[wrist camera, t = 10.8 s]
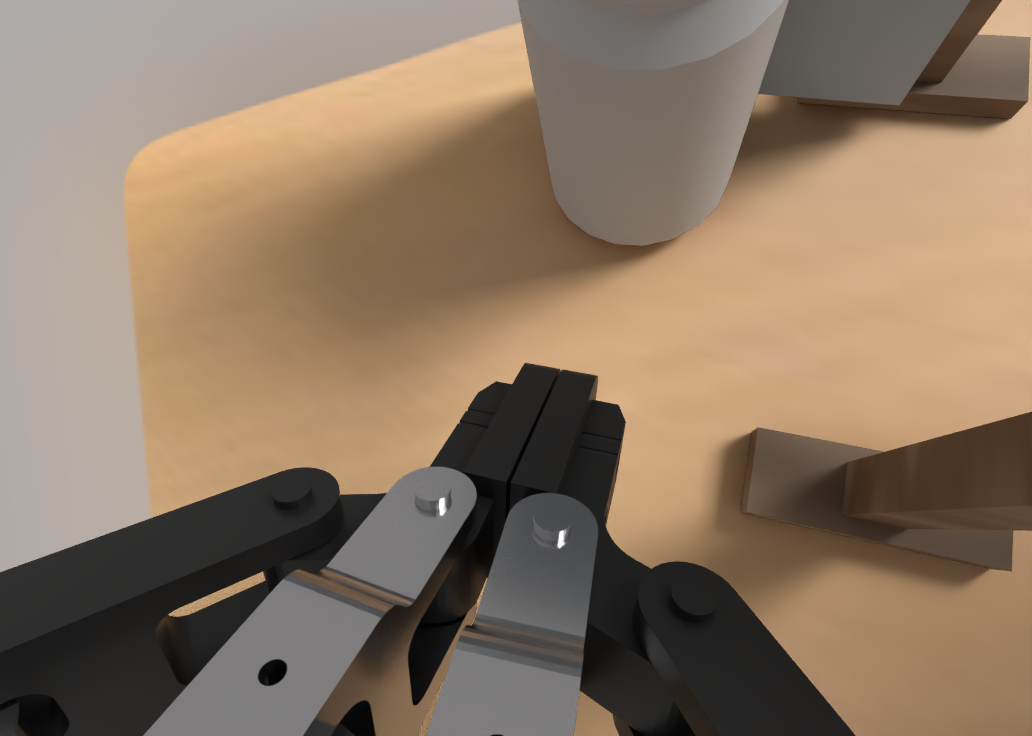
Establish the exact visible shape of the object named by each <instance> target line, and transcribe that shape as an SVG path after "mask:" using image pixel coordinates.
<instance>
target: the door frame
mask: <svg viewBox="0 0 1032 736" xmlns="http://www.w3.org/2000/svg"><path fill="white" fill-rule="evenodd" d="M1001 1H1002V0H970V2H969V3H968V5H967V6H966V8H965V9H964V11H963V12H962V14H961V15H960V17H959V18H958V20H957V21H956V22H955V24H954V25H953V27H952V28H951V30H950V31H949V33H948V34H947V36H946V37H945V39H944V40H943V42H942V43H941V45H940V46H939V48H938V49H937V51H936V52H935V53H934V55H933V56H932V58H931V59H930V61H929V62H928V64H927V65H926V67H925V68H924V70H923V71H922V73H921V74H920V76H919V77H918V79H917V80H916V82H915V83H914V85H913V86H912V87H911V89H910V90H909V92H908V93H907V95H906V96H905V98H904V99H903V101H902V102H901V104H900V105H888V104H876V103H864V102H852V101H840V100H827V99H815V98H803V97H799V100H798V103H809V104H822V105H835V106H848V107H862V108H875V109H888V110H901V111H915V112H928V113H941V114H954V115H968V116H981V117H994V118H1007V119H1011V118H1012V117H1013V116H1014V115H1015V114H1016V113H1017V112H1018V111H1019V110H1020V109H1021V108H1022V107H1023V106H1024V105H1025V104H1026V103H1027V102H1028V87H1029V58H1030V37H1015V36H994V35H977V34H978V32H979V31H980V30H981V28H982V27H983V25H984V24H985V23H986V21H987V20H988V19H989V17H990V16H991V15H992V13H993V12H994V11H995V9H996V8H997V6H998V5H999V4H1000V2H1001ZM740 512H742V513H746V514H750V515H755V516H759V517H764V518H768V519H773V520H777V521H781V522H786V523H790V524H795V525H799V526H804V527H808V528H812V529H817V530H821V531H826V532H830V533H835V534H839V535H843V536H848V537H852V538H857V539H861V540H866V541H870V542H874V543H879V544H883V545H888V546H892V547H897V548H901V549H905V550H910V551H914V552H919V553H923V554H928V555H932V556H936V557H941V558H945V559H950V560H954V561H959V562H963V563H967V564H972V565H976V566H981V567H985V568H990V569H996V570H1005V571H1012V544H1013V530H1031V531H1032V412H1029V413H1026V414H1022V415H1018V416H1015V417H1011V418H1007V419H1004V420H1000V421H996V422H993V423H989V424H985V425H982V426H978V427H974V428H971V429H967V430H963V431H960V432H956V433H952V434H949V435H945V436H941V437H938V438H934V439H930V440H927V441H923V442H919V443H916V444H912V445H908V446H905V447H901V448H897V449H894V450H890V451H886V452H882V451H877V450H872V449H867V448H862V447H856V446H851V445H846V444H841V443H836V442H831V441H825V440H820V439H815V438H810V437H805V436H800V435H794V434H789V433H784V432H779V431H774V430H769V429H763V428H757V429H755V430H754V431H752V433H751V440H750V447H749V455H748V462H747V469H746V476H745V483H744V490H743V497H742V504H741V511H740Z"/></svg>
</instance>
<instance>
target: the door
mask: <svg viewBox="0 0 1032 736" xmlns="http://www.w3.org/2000/svg"><path fill="white" fill-rule="evenodd" d="M969 2H970V0H789V1H788V4H787V7H786V10H785V13H784V16H783V19H782V22H781V25H780V28H779V31H778V34H777V37H776V40H775V43H774V46H773V50H772V53H771V56H770V59H769V62H768V65H767V68H766V71H765V74H764V77H763V80H762V83H761V86H760V89H759V92H758V94H766V95H778V96H791V97H803V98H815V99H827V100H840V101H852V102H864V103H876V104H888V105H900V104H901V102H902V101H903V99H904V98H905V96H906V95H907V93H908V92H909V90H910V89H911V87H912V86H913V85H914V83H915V82H916V80H917V79H918V77H919V76H920V74H921V73H922V71H923V70H924V68H925V67H926V65H927V64H928V62H929V61H930V59H931V58H932V56H933V55H934V53H935V52H936V51H937V49H938V48H939V46H940V45H941V43H942V42H943V40H944V39H945V37H946V36H947V34H948V33H949V31H950V30H951V28H952V27H953V25H954V24H955V22H956V21H957V20H958V18H959V17H960V15H961V14H962V12H963V11H964V9H965V8H966V6H967V5H968V3H969Z"/></svg>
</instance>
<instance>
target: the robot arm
mask: <svg viewBox="0 0 1032 736" xmlns="http://www.w3.org/2000/svg"><path fill="white" fill-rule="evenodd" d="M597 384H598V376H596V375H590V374H585V373H579V372H574V371H568V370H562V371H561V370H560V369H557V368H551V367H546V366H540V365H535V364H529V363H525V364H524V365H523V367H522V368H521V370H520V372H519V374H518V375H517V377H516V379H515V381H514V382H513V384H507V383H502V382H497V381H496V382H495V383H493V384H491V385H490V386H488V387H487V388H485V389H483V390H482V391H480V392H479V393H478V394H477V395H476V397H475V398H474V400H473V401H472V403H471V404H470V406H469V407H468V411H466V412H465V414H464V415H463V417H462V418H461V420H460V423H459V424H457V426H456V427H455V429H454V430H453V432H452V434H451V435H450V437H449V438H448V440H447V441H446V443H445V444H444V446H443V447H442V449H441V450H440V452H439V453H438V455H437V457H436V458H435V460H434V461H433V463H432V464H431V466H430V467H427V468H422V469H418V470H415V471H413V472H410V473H408V474H406V475H405V476H403V477H402V478H401V479H399V480H398V481H397V482H396V483H395V484H394V486H393V487H392V488H391V489H390V490H389V492H388V493H383V494H350V495H340V490H339V485H338V483H337V480H336V479H335V478H334V477H333V476H332V475H331V474H329V473H328V472H326V471H324V470H320V469H316V468H305V467H303V468H294V469H289V470H285V471H282V472H279V473H276V474H273V475H270V476H268V477H265V478H262V479H259V480H256V481H254V482H251V483H248V484H245V485H243V486H240V487H237V488H234V489H231V490H229V491H226V492H223V493H220V494H217V495H215V496H212V497H209V498H206V499H204V500H201V501H198V502H195V503H192V504H190V505H187V506H184V507H181V508H178V509H176V510H173V511H170V512H167V513H164V514H162V515H159V516H156V517H153V518H151V519H148V520H145V521H142V522H139V523H137V524H134V525H131V526H128V527H126V528H123V529H120V530H117V531H114V532H111V533H109V534H106V535H104V536H100V537H98V538H95V539H92V540H89V541H86V542H84V543H81V544H78V545H75V546H72V547H70V548H67V549H64V550H61V551H59V552H56V553H53V554H50V555H48V556H45V557H42V558H39V559H36V560H34V561H31V562H28V563H25V564H22V565H19V566H17V567H14V568H11V569H8V570H6V571H3V572H0V736H419V732H420V729H421V726H422V723H423V720H424V718H425V716H426V713H427V711H428V709H429V707H430V705H431V703H432V701H433V699H434V697H435V695H436V693H437V691H438V690H439V688H440V686H441V684H442V682H443V680H444V678H445V680H444V683H443V686H442V689H441V692H440V695H439V698H438V701H437V704H436V707H435V710H434V713H433V716H432V719H431V722H430V725H429V728H428V731H427V734H426V736H574V729H575V721H576V713H577V705H578V697H579V690H580V691H582V692H583V693H584V694H586V695H587V696H589V697H590V698H591V699H593V700H594V701H596V702H597V703H598V704H600V705H601V706H603V707H604V708H605V709H607V710H608V711H609V712H611V713H612V714H613V719H614V723H615V726H616V729H617V731H618V734H619V736H855V734H854V733H853V732H852V731H851V730H850V728H849V727H848V726H847V725H846V724H845V722H844V721H843V720H842V719H841V717H840V716H839V715H838V714H837V713H836V711H835V710H834V709H833V708H832V707H831V705H830V704H829V703H828V702H827V701H826V699H825V698H824V697H823V696H822V695H821V693H820V692H819V691H818V690H817V689H816V687H815V686H814V685H813V684H812V683H811V681H810V680H809V679H808V678H807V677H806V675H805V674H804V673H803V672H802V671H801V669H800V668H799V667H798V666H797V665H796V663H795V662H794V661H793V660H792V658H791V657H790V656H789V655H788V654H787V652H786V651H785V650H784V649H783V648H782V646H781V645H780V644H779V643H778V642H777V640H776V639H775V638H774V637H773V636H772V634H771V633H770V632H769V631H768V630H767V628H766V627H765V626H764V625H763V624H762V622H761V621H760V620H759V619H758V618H757V616H756V615H755V614H754V613H753V612H752V610H751V609H750V608H749V607H748V606H747V604H746V603H745V602H744V601H743V599H742V598H741V597H740V596H739V595H738V593H737V592H736V591H735V590H734V589H733V588H732V587H731V586H730V584H729V583H728V582H726V581H725V580H724V579H723V578H722V577H720V576H719V575H717V574H716V573H714V572H713V571H711V570H709V569H707V568H704V567H702V566H699V565H696V564H692V563H687V562H668V563H663V564H660V565H658V566H656V567H654V568H652V569H651V568H649V567H647V566H645V565H644V564H642V563H640V562H638V561H636V560H635V559H633V558H631V557H630V556H628V555H627V554H626V553H624V552H623V551H622V550H621V549H620V548H619V547H618V546H617V545H616V544H615V543H614V541H613V540H612V539H611V537H610V535H609V533H608V531H607V528H606V523H607V519H608V514H609V510H610V505H611V500H612V496H613V492H614V487H615V483H616V477H617V471H618V465H619V459H620V453H621V447H622V441H623V435H624V429H625V423H626V422H625V419H624V417H623V414H622V412H621V410H620V407H619V405H617V404H611V403H606V402H601V401H596V392H597ZM262 571H263V573H264V576H265V580H266V581H264V582H262V583H259V584H257V585H255V586H253V587H250V588H248V589H246V590H244V591H242V592H239V593H237V594H235V595H233V596H230V597H228V598H226V599H224V600H221V601H219V602H217V603H215V604H212V605H210V606H208V607H206V608H204V609H201V610H199V611H197V612H195V613H192V614H190V615H186V616H181V617H173V616H169V615H168V614H169V613H171V612H172V611H174V610H176V609H178V608H180V607H182V606H185V605H187V604H189V603H191V602H194V601H196V600H198V599H201V598H203V597H205V596H207V595H210V594H212V593H214V592H217V591H219V590H221V589H223V588H226V587H228V586H230V585H233V584H235V583H237V582H239V581H242V580H244V579H246V578H248V577H251V576H253V575H255V574H258V573H260V572H262ZM486 578H488V580H487V583H486V586H485V589H484V592H483V595H482V599H481V602H480V605H479V608H478V611H477V614H476V610H477V600H478V597H479V595H480V593H481V590H482V588H483V585H484V583H485V581H486ZM475 615H476V617H475ZM474 618H475V620H474ZM473 620H474V622H473ZM472 622H473V624H472ZM471 624H472V626H471ZM445 676H446V677H445Z"/></svg>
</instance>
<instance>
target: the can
mask: <svg viewBox="0 0 1032 736" xmlns="http://www.w3.org/2000/svg"><path fill="white" fill-rule="evenodd" d="M788 1H789V0H518V5H519V11H520V16H521V21H522V27H523V32H524V38H525V43H526V48H527V54H528V59H529V65H530V70H531V75H532V81H533V86H534V92H535V97H536V102H537V108H538V113H539V118H540V124H541V129H542V135H543V140H544V145H545V151H546V156H547V162H548V167H549V172H550V177H551V182H552V187H553V192H554V197H555V199H556V201H557V202H558V204H559V205H560V207H561V208H562V210H563V212H564V213H565V215H566V216H567V218H568V219H569V220H571V221H572V222H573V223H574V224H576V225H577V226H578V227H579V228H581V229H582V230H583V231H585V232H586V233H587V234H589V235H591V236H594V237H597V238H599V239H602V240H605V241H608V242H610V243H613V244H623V245H639V246H645V245H649V244H654V243H658V242H663V241H667V240H672V239H674V238H676V237H678V236H680V235H682V234H683V233H685V232H687V231H689V230H691V229H692V228H694V227H696V226H698V225H699V224H700V223H701V222H702V221H703V220H704V219H705V218H706V217H707V216H708V215H709V214H710V213H711V212H712V211H713V210H714V209H715V208H716V206H717V205H718V204H719V201H720V199H721V197H722V195H723V193H724V191H725V189H726V186H727V184H728V182H729V179H730V176H731V173H732V170H733V167H734V164H735V161H736V158H737V155H738V152H739V149H740V146H741V143H742V140H743V137H744V134H745V131H746V128H747V125H748V122H749V119H750V116H751V113H752V110H753V107H754V104H755V101H756V98H757V95H758V92H759V89H760V86H761V83H762V80H763V77H764V74H765V71H766V68H767V65H768V62H769V59H770V56H771V53H772V50H773V46H774V43H775V40H776V37H777V34H778V31H779V28H780V25H781V22H782V19H783V16H784V13H785V10H786V7H787V4H788Z"/></svg>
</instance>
